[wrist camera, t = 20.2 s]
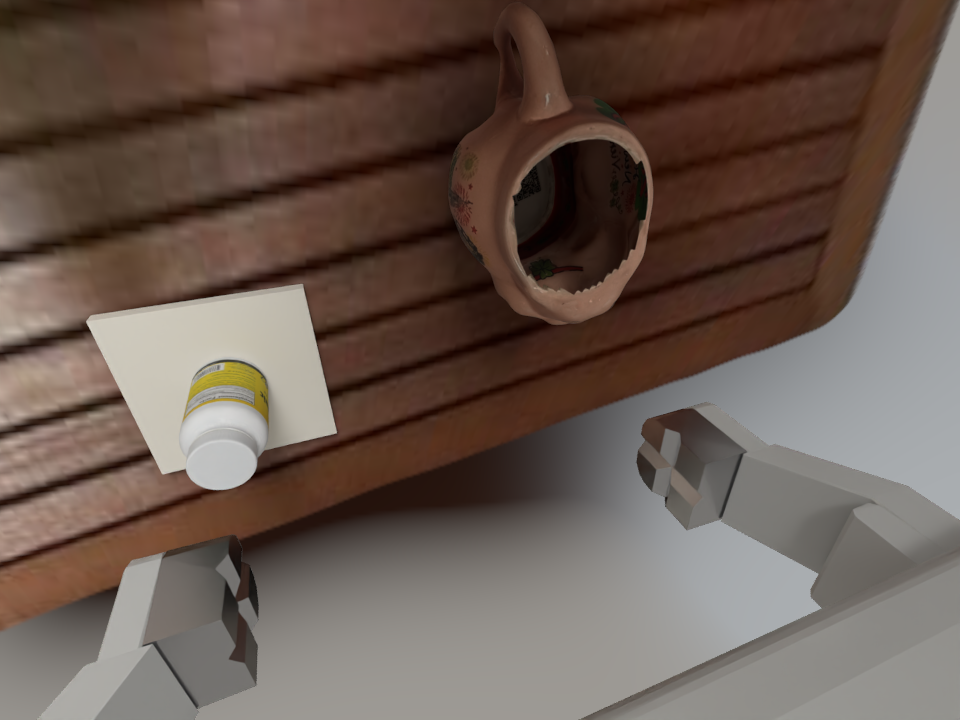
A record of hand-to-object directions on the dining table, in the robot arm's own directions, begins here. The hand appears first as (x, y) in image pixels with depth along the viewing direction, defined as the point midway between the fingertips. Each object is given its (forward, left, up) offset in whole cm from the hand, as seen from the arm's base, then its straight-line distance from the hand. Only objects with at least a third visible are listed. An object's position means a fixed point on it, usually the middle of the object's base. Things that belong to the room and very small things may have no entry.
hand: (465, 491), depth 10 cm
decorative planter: (0, +13, -31) cm, 34 cm away
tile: (+14, -10, -31) cm, 36 cm away
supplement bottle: (+14, -10, -30) cm, 35 cm away
